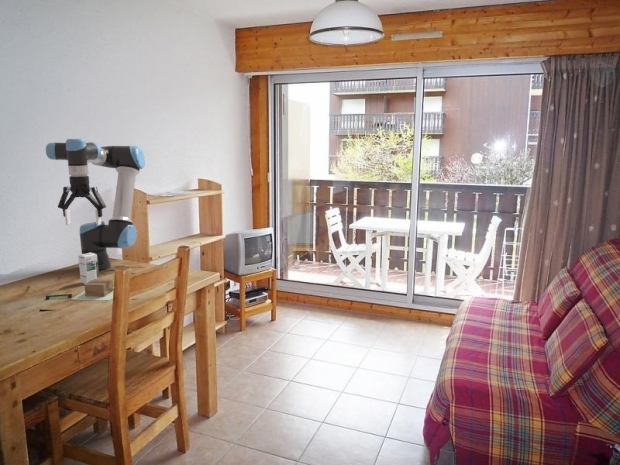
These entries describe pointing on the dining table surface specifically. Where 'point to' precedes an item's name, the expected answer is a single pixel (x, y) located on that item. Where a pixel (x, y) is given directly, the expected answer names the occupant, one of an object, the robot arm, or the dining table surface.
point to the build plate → (83, 297)
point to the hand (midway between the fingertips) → (83, 224)
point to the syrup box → (88, 267)
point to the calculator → (54, 297)
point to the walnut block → (99, 287)
